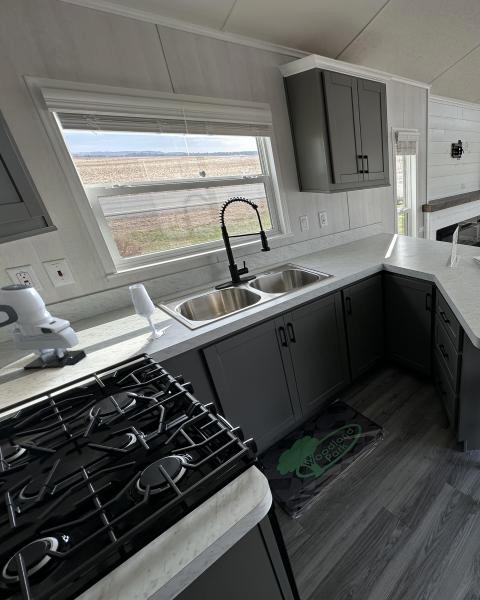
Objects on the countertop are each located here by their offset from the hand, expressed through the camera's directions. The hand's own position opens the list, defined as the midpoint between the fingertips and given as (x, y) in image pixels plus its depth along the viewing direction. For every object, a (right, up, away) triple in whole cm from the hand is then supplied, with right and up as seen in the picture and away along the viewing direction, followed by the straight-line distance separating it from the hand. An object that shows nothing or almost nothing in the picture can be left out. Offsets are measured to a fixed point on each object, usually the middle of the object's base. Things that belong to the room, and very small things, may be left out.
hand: (55, 357), depth 126 cm
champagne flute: (+24, +6, +20) cm, 32 cm away
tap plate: (-1, -3, +2) cm, 4 cm away
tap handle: (0, 0, 0) cm, 1 cm away
